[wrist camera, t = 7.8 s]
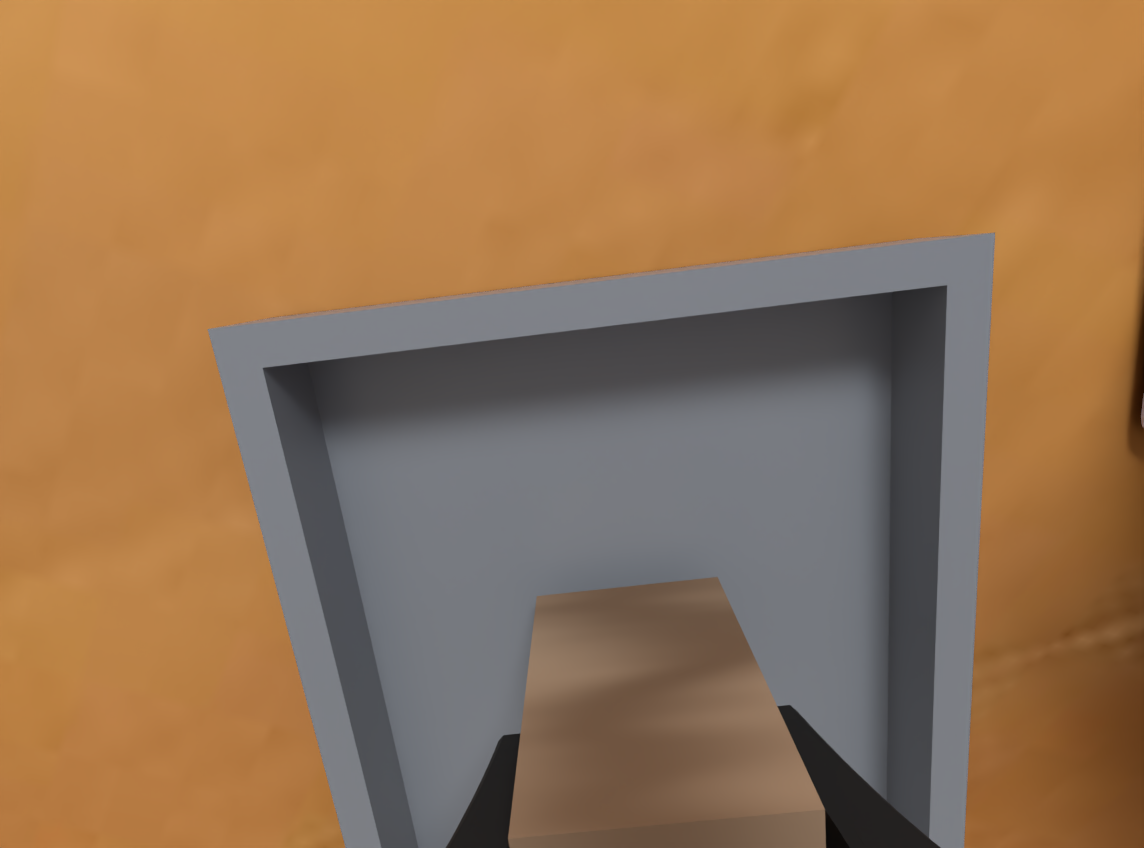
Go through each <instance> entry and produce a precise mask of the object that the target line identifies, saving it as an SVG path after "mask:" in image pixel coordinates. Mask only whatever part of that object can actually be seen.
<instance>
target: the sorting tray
mask: <svg viewBox="0 0 1144 848" xmlns="http://www.w3.org/2000/svg"><path fill="white" fill-rule="evenodd" d="M994 244H995V233H985V234H972V235H958V236H945V237H931V238H918V239H909V240H901V241H893V242H885V243H877V244H868V245H860V246H852V247H844V248H836V249H828V250H820V251H811V252H803V253H795V254H787V255H779V256H771V257H762V258H754V259H746V260H738V261H730V262H722V263H714V264H705V265H697V266H689V267H681V268H673V269H665V270H657V271H648V272H640V273H632V274H624V275H616V276H608V277H599V278H591V279H583V280H575V281H567V282H559V283H551V284H542V285H534V286H526V287H518V288H510V289H502V290H494V291H485V292H477V293H469V294H461V295H453V296H445V297H436V298H428V299H420V300H412V301H404V302H396V303H388V304H379V305H371V306H363V307H355V308H347V309H339V310H330V311H322V312H314V313H306V314H298V315H290V316H282V317H273V318H268V319H262V320H256V321H251V322H245V323H240V324H234V325H229V326H223V327H218V328H212V329H208V332H209V336H210V339H211V343H212V347H213V351H214V354H215V358H216V362H217V366H218V369H219V373H220V377H221V381H222V384H223V388H224V392H225V396H226V399H227V403H228V407H229V411H230V414H231V418H232V422H233V426H234V429H235V433H236V437H237V441H238V445H239V448H240V452H241V456H242V460H243V463H244V467H245V471H246V475H247V478H248V482H249V486H250V490H251V493H252V497H253V501H254V505H255V508H256V512H257V516H258V520H259V523H260V527H261V531H262V535H263V538H264V542H265V546H266V550H267V554H268V557H269V561H270V565H271V569H272V572H273V576H274V580H275V584H276V587H277V591H278V595H279V599H280V602H281V606H282V610H283V614H284V617H285V621H286V625H287V629H288V632H289V636H290V640H291V644H292V647H293V651H294V655H295V659H296V663H297V666H298V670H299V674H300V678H301V681H302V685H303V689H304V693H305V696H306V700H307V704H308V708H309V711H310V715H311V719H312V723H313V726H314V730H315V734H316V738H317V741H318V745H319V749H320V753H321V757H322V760H323V764H324V768H325V772H326V775H327V779H328V783H329V787H330V790H331V794H332V798H333V802H334V805H335V809H336V813H337V817H338V820H339V824H340V828H341V832H342V835H343V839H344V843H345V847H346V848H446V846H447V845H448V843H449V841H450V839H451V838H452V836H453V834H454V832H455V830H456V829H457V827H458V825H459V823H460V821H461V819H462V817H463V815H464V813H465V812H466V810H467V808H468V806H469V804H470V802H471V800H472V798H473V796H474V794H475V792H476V790H477V788H478V786H479V784H480V782H481V780H482V778H483V776H484V773H485V771H486V769H487V767H488V765H489V762H490V760H491V758H492V755H493V753H494V751H495V748H496V746H497V743H498V741H499V740H500V738H501V737H502V736H503V735H510V734H519V733H521V725H522V716H523V708H524V699H525V691H526V683H527V674H528V666H529V657H530V649H531V640H532V632H533V623H534V615H535V607H536V598H537V596H542V595H551V594H561V593H570V592H580V591H589V590H599V589H608V588H617V587H627V586H636V585H646V584H655V583H665V582H674V581H684V580H693V579H702V578H712V577H718V579H719V581H720V583H721V586H722V588H723V590H724V592H725V594H726V596H727V598H728V601H729V603H730V605H731V607H732V609H733V611H734V614H735V616H736V618H737V620H738V622H739V624H740V627H741V629H742V631H743V633H744V635H745V637H746V640H747V642H748V644H749V646H750V648H751V650H752V653H753V655H754V657H755V659H756V661H757V663H758V666H759V668H760V670H761V672H762V674H763V676H764V679H765V681H766V683H767V685H768V687H769V689H770V692H771V694H772V696H773V698H774V700H775V702H776V705H777V706H784V705H791V706H792V707H793V708H794V709H796V710H797V711H798V713H799V714H800V715H801V716H802V717H803V718H804V719H805V720H806V721H807V722H808V723H809V724H810V726H811V727H812V728H813V729H814V730H815V731H816V732H817V733H818V734H819V735H820V736H821V737H822V738H823V739H824V740H825V741H826V742H827V743H828V744H829V745H830V746H831V747H832V749H833V750H834V751H835V752H836V753H837V754H838V755H839V756H840V757H841V758H842V759H843V760H844V761H845V762H846V763H847V764H848V765H849V766H850V767H851V768H852V769H853V770H854V771H855V772H857V773H858V774H859V775H860V776H861V777H862V778H863V779H864V780H865V781H866V782H867V783H868V784H869V785H870V786H871V787H872V788H873V789H874V790H875V791H877V792H878V793H879V794H880V795H881V796H882V797H883V798H884V799H885V800H886V801H887V802H888V803H890V804H891V805H892V806H893V807H894V808H895V809H896V810H897V811H898V812H899V813H901V814H902V815H903V816H904V817H905V818H906V819H908V820H909V821H910V822H911V823H912V824H913V825H914V826H916V827H917V828H918V829H919V830H920V831H921V832H923V833H924V834H925V835H926V836H927V837H929V838H930V839H931V840H932V841H933V842H935V843H936V844H937V845H938V846H939V847H941V848H964V835H965V815H966V796H967V776H968V756H969V736H970V717H971V697H972V677H973V658H974V638H975V618H976V599H977V579H978V559H979V539H980V520H981V500H982V480H983V461H984V441H985V421H986V401H987V382H988V362H989V342H990V323H991V303H992V283H993V263H994Z"/></svg>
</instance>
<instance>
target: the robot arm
mask: <svg viewBox="0 0 1144 848" xmlns="http://www.w3.org/2000/svg"><path fill="white" fill-rule="evenodd" d="M1141 423H1142V426H1143V428H1144V395H1143V404H1142V412H1141ZM777 707H778V709H779V711H780V713H781V715H782V718H783V720H784V722H785V724H786V726H787V728H788V731H789V733H790V735H791V737H792V739H793V741H794V744H795V746H796V748H797V750H798V752H799V754H800V757H801V759H802V761H803V763H804V765H805V767H806V769H807V772H808V774H809V776H810V778H811V780H812V782H813V785H814V787H815V789H816V791H817V793H818V795H819V798H820V800H821V802H822V804H823V806H824V808H825V830H826V848H941V847H939V846H938V845H937V844H936V843H935V842H933V841H932V840H931V839H930V838H929V837H927V836H926V835H925V834H924V833H923V832H921V831H920V830H919V829H918V828H917V827H916V826H914V825H913V824H912V823H911V822H910V821H909V820H908V819H906V818H905V817H904V816H903V815H902V814H901V813H899V812H898V811H897V810H896V809H895V808H894V807H893V806H892V805H891V804H890V803H888V802H887V801H886V800H885V799H884V798H883V797H882V796H881V795H880V794H879V793H878V792H877V791H875V790H874V789H873V788H872V787H871V786H870V785H869V784H868V783H867V782H866V781H865V780H864V779H863V778H862V777H861V776H860V775H859V774H858V773H857V772H855V771H854V770H853V769H852V768H851V767H850V766H849V765H848V764H847V763H846V762H845V761H844V760H843V759H842V758H841V757H840V756H839V755H838V754H837V753H836V752H835V751H834V750H833V749H832V747H831V746H830V745H829V744H828V743H827V742H826V741H825V740H824V739H823V738H822V737H821V736H820V735H819V734H818V733H817V732H816V731H815V730H814V729H813V728H812V727H811V726H810V724H809V723H808V722H807V721H806V720H805V719H804V718H803V717H802V716H801V715H800V714H799V713H798V711H797V710H796V709H794V708H793V707H792V706H791V705H784V706H777ZM519 742H520V733H519V734H510V735H503V736H502V737H501V738H500V740H499V741H498V743H497V746H496V748H495V751H494V753H493V755H492V758H491V760H490V762H489V765H488V767H487V769H486V771H485V773H484V776H483V778H482V780H481V782H480V784H479V786H478V788H477V790H476V792H475V794H474V796H473V798H472V800H471V802H470V804H469V806H468V808H467V810H466V812H465V813H464V815H463V817H462V819H461V821H460V823H459V825H458V827H457V829H456V830H455V832H454V834H453V836H452V838H451V839H450V841H449V843H448V845H447V846H446V848H510V847H509V842H508V834H509V826H510V818H511V809H512V801H513V792H514V784H515V775H516V767H517V758H518V750H519Z"/></svg>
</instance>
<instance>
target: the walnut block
mask: <svg viewBox="0 0 1144 848" xmlns="http://www.w3.org/2000/svg"><path fill="white" fill-rule="evenodd" d="M508 842H509V847H510V848H826V830H825V808H824V806H823V804H822V802H821V800H820V798H819V795H818V793H817V791H816V789H815V787H814V785H813V782H812V780H811V778H810V776H809V774H808V772H807V769H806V767H805V765H804V763H803V761H802V759H801V757H800V754H799V752H798V750H797V748H796V746H795V744H794V741H793V739H792V737H791V735H790V733H789V731H788V728H787V726H786V724H785V722H784V720H783V718H782V715H781V713H780V711H779V709H778V707H777V705H776V702H775V700H774V698H773V696H772V694H771V692H770V689H769V687H768V685H767V683H766V681H765V679H764V676H763V674H762V672H761V670H760V668H759V666H758V663H757V661H756V659H755V657H754V655H753V653H752V650H751V648H750V646H749V644H748V642H747V640H746V637H745V635H744V633H743V631H742V629H741V627H740V624H739V622H738V620H737V618H736V616H735V614H734V611H733V609H732V607H731V605H730V603H729V601H728V598H727V596H726V594H725V592H724V590H723V588H722V586H721V583H720V581H719V579H718V577H712V578H702V579H693V580H684V581H674V582H665V583H655V584H646V585H636V586H627V587H617V588H608V589H599V590H589V591H580V592H570V593H561V594H551V595H542V596H537V598H536V607H535V615H534V623H533V632H532V640H531V649H530V657H529V666H528V674H527V683H526V691H525V699H524V708H523V716H522V725H521V733H520V742H519V750H518V758H517V767H516V775H515V784H514V792H513V801H512V809H511V818H510V826H509V834H508Z"/></svg>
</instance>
